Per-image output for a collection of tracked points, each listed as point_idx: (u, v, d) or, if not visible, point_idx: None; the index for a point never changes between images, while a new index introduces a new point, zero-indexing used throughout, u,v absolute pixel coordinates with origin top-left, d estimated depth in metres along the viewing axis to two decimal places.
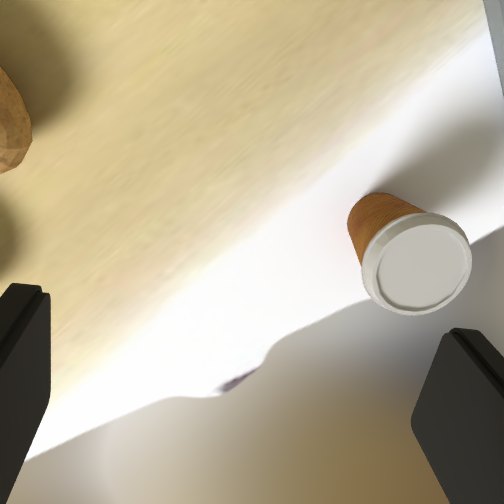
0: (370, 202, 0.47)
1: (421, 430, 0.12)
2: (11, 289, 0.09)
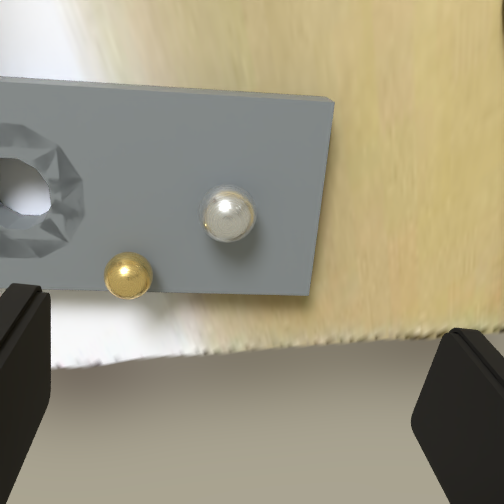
0: None
1: (421, 429, 0.12)
2: (11, 289, 0.09)
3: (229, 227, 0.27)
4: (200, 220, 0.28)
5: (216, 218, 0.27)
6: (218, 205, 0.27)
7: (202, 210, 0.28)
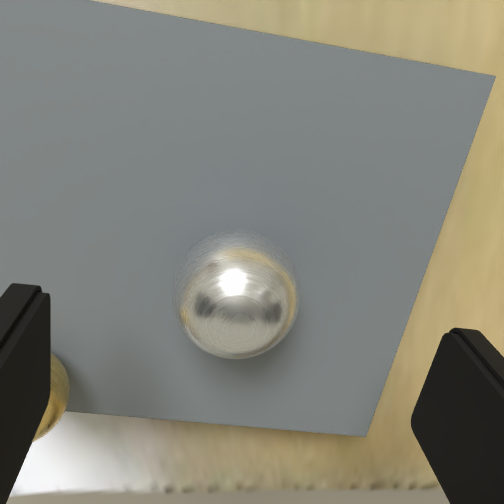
0: None
1: (421, 429, 0.12)
2: (11, 289, 0.09)
3: (240, 337, 0.12)
4: (174, 307, 0.12)
5: (212, 314, 0.11)
6: (219, 285, 0.11)
7: (181, 288, 0.12)
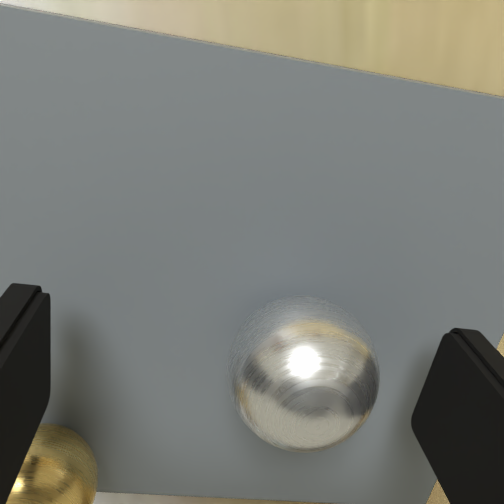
0: None
1: (421, 429, 0.12)
2: (11, 289, 0.09)
3: (318, 434, 0.10)
4: (233, 393, 0.10)
5: (286, 409, 0.09)
6: (295, 373, 0.09)
7: (244, 373, 0.10)
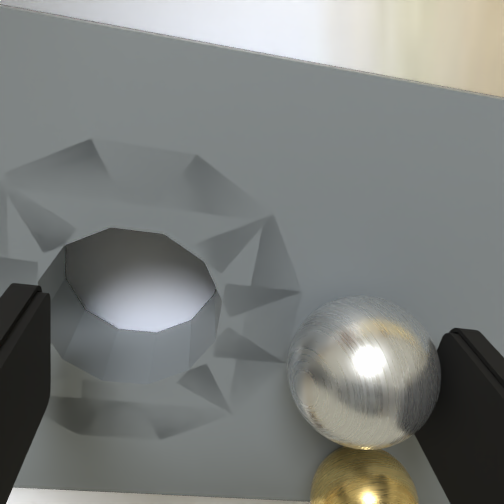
0: None
1: (421, 430, 0.12)
2: (11, 289, 0.09)
3: None
4: (428, 416, 0.11)
5: None
6: None
7: None
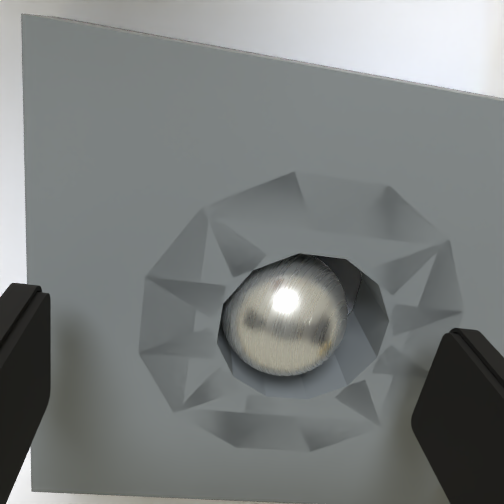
0: None
1: (421, 430, 0.12)
2: (11, 289, 0.09)
3: None
4: None
5: None
6: None
7: None
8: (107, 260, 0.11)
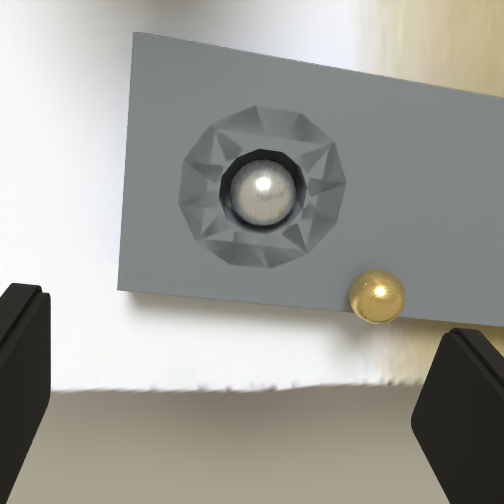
0: None
1: (421, 429, 0.12)
2: (11, 289, 0.09)
3: None
4: None
5: None
6: None
7: None
8: (165, 151, 0.23)
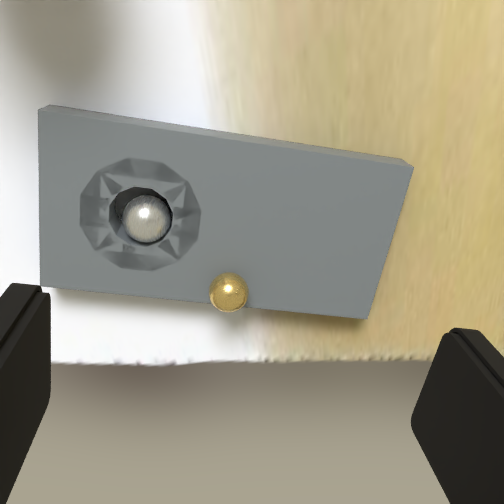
0: None
1: (421, 429, 0.12)
2: (11, 289, 0.09)
3: None
4: None
5: None
6: None
7: None
8: (66, 188, 0.33)
